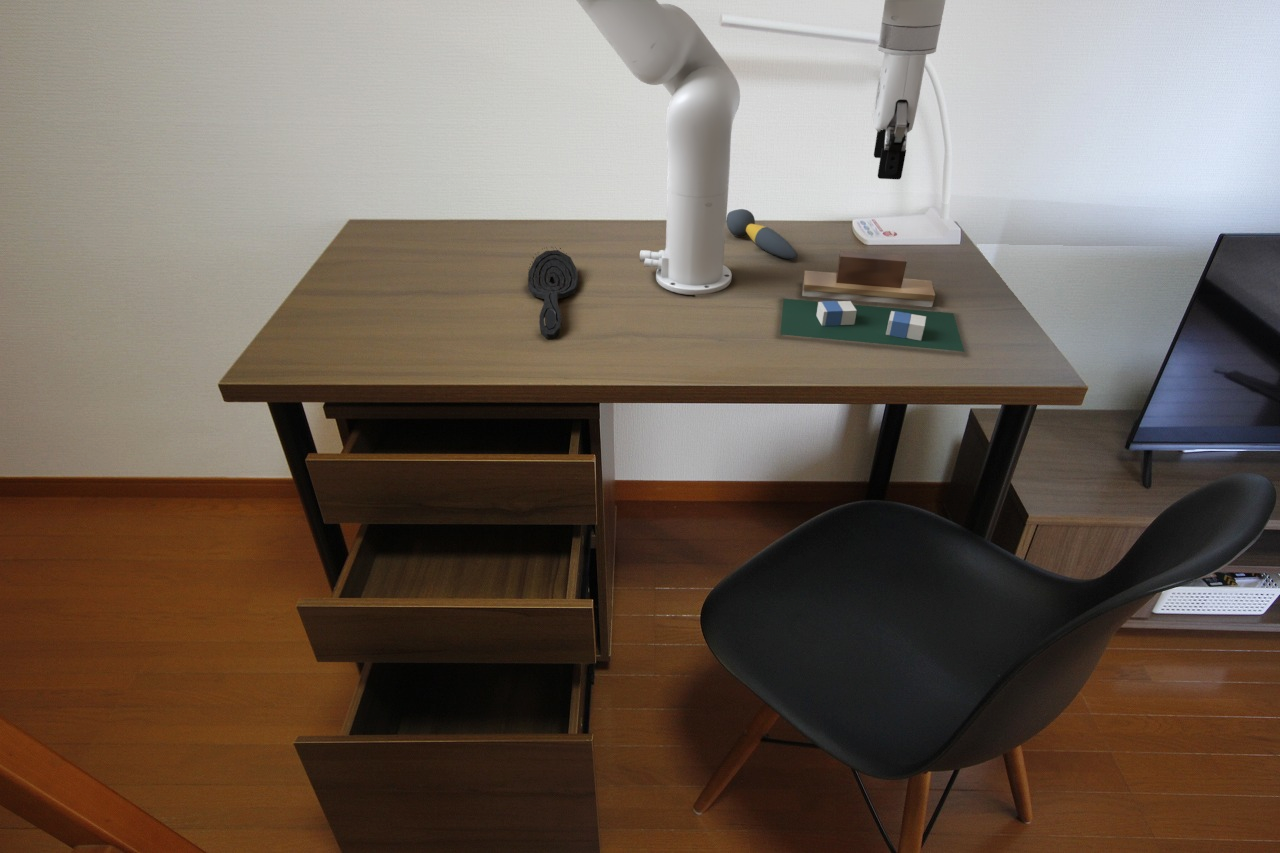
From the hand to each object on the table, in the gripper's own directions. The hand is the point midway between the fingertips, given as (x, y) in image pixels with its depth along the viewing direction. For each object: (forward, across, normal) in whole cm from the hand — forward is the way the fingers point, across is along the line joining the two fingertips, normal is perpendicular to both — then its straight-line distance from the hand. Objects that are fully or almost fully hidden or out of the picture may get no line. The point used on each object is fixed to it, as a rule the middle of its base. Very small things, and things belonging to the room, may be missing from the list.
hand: (886, 167), depth 114 cm
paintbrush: (+20, -18, -18) cm, 32 cm away
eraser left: (+20, +10, -5) cm, 23 cm away
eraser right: (+20, +12, +5) cm, 24 cm away
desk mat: (+21, +10, 0) cm, 23 cm away
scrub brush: (+21, 0, 0) cm, 21 cm away
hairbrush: (+20, +11, -49) cm, 54 cm away
